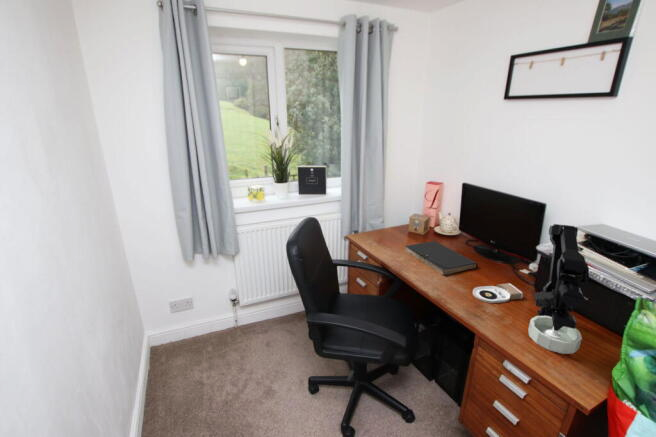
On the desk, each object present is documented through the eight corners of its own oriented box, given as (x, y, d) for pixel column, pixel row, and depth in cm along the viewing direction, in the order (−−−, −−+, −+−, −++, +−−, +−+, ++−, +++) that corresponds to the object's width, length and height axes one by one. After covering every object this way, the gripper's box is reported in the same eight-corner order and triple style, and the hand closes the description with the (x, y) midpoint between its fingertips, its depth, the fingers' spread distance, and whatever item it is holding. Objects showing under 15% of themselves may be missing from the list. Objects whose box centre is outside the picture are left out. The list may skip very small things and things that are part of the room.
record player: (525, 294, 137) (483, 299, 135) (524, 300, 138) (482, 305, 136) (507, 281, 148) (468, 285, 146) (506, 287, 149) (467, 290, 147)
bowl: (527, 321, 124) (529, 311, 122) (573, 332, 117) (576, 322, 116) (530, 344, 111) (532, 334, 110) (582, 359, 105) (585, 348, 103)
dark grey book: (404, 245, 187) (436, 240, 196) (404, 251, 189) (436, 246, 197) (442, 269, 158) (478, 261, 167) (441, 276, 160) (477, 268, 168)
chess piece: (554, 330, 116) (561, 308, 113) (564, 339, 112) (571, 316, 108) (542, 331, 116) (548, 308, 113) (551, 340, 111) (558, 316, 108)
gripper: (535, 274, 119) (527, 308, 124) (540, 298, 104) (531, 337, 109) (570, 280, 114) (561, 316, 119) (582, 307, 99) (570, 347, 104)
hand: (555, 328), depth 113 cm, fingers closed on chess piece
